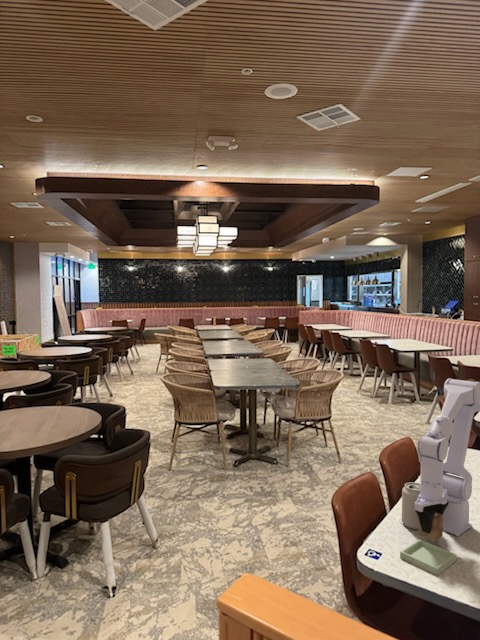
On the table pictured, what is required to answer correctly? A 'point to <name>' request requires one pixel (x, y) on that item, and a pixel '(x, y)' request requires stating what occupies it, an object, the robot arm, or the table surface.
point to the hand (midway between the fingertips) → (430, 528)
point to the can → (410, 505)
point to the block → (434, 528)
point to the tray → (428, 556)
